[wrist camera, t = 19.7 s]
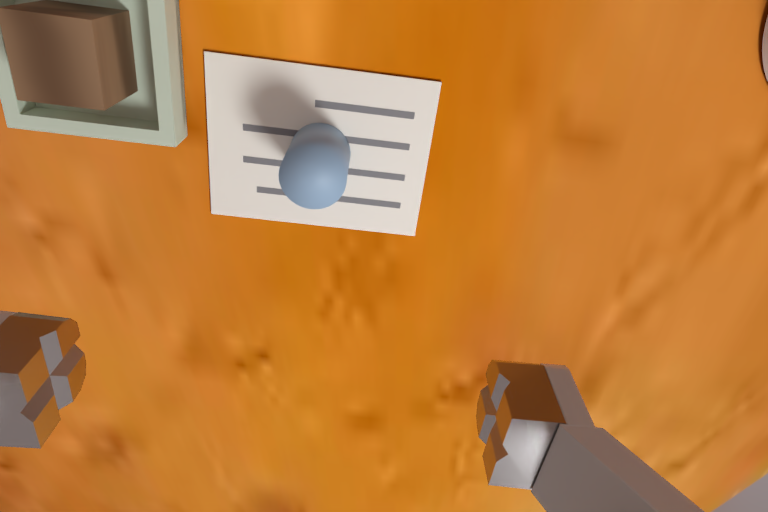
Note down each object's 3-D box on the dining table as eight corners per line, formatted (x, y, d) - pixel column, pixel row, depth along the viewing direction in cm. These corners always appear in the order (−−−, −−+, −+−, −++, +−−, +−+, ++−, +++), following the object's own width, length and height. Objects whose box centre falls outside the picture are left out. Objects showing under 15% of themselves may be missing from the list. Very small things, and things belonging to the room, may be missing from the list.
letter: (441, 81, 36) (441, 82, 36) (414, 235, 42) (414, 236, 42) (204, 50, 35) (203, 51, 35) (211, 212, 41) (211, 213, 41)
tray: (175, -38, 32) (161, -37, 30) (187, 135, 38) (175, 147, 36) (-11, -65, 31) (-40, -65, 29) (29, 116, 37) (7, 127, 35)
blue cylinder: (353, 126, 37) (349, 149, 33) (347, 183, 39) (343, 212, 35) (291, 119, 37) (279, 141, 33) (289, 177, 39) (277, 205, 35)
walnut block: (129, 10, 33) (91, 19, 29) (138, 91, 35) (104, 110, 31) (47, -1, 33) (-4, 7, 28) (61, 81, 35) (17, 100, 31)
